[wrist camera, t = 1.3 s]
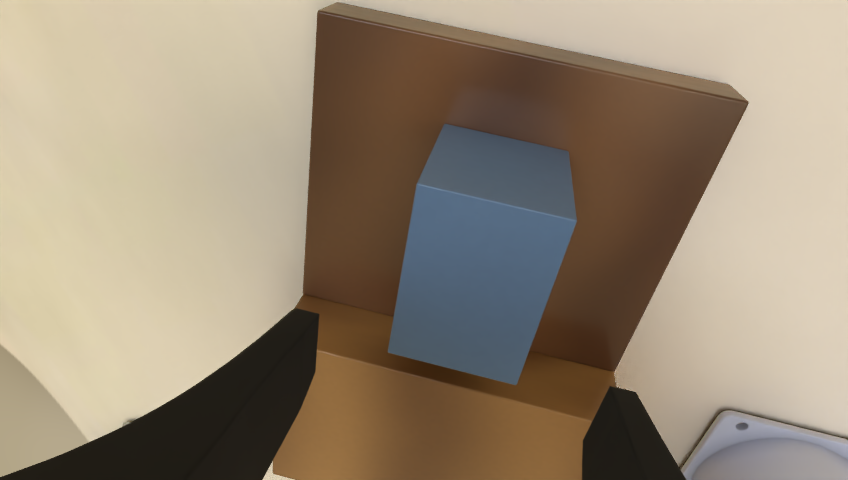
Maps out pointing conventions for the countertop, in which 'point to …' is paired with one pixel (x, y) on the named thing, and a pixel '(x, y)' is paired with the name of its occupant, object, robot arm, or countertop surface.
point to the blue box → (482, 252)
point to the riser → (389, 224)
